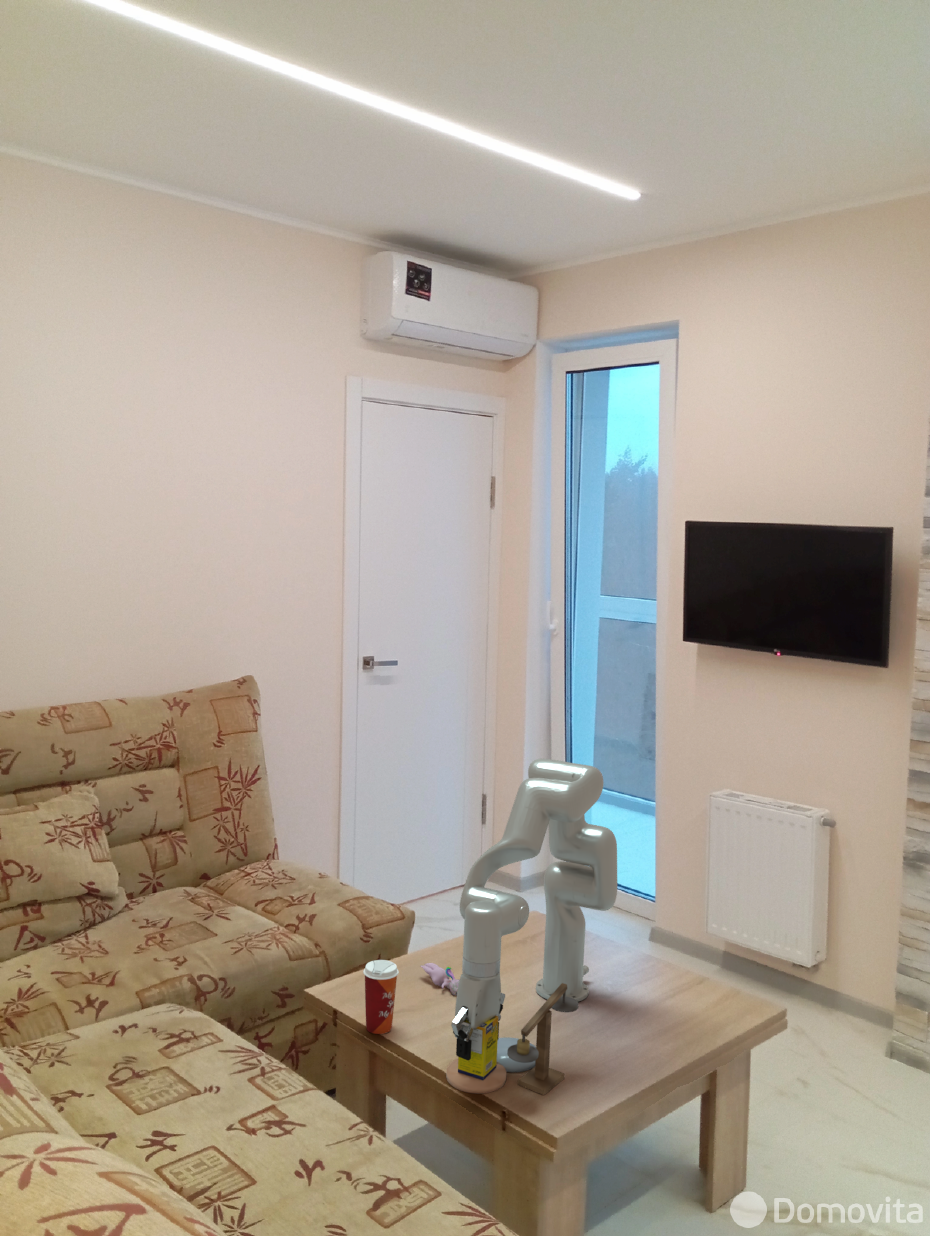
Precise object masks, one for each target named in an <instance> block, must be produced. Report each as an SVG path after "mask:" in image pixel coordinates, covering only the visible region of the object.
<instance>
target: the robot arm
mask: <svg viewBox="0 0 930 1236" xmlns="http://www.w3.org/2000/svg"><path fill="white" fill-rule="evenodd" d="M527 771H528V772H527V776H528V778H526V779H524V780H523V781H521V783H520V785H519V787H518V790H517V792H516V794H515V795H516V796H515V798H514V802H513V804H512V806H511V810H510V813H509V817H508V820H507V822H506V825H505V828H504V832H503V835H502V837H501V839H500V840H499V841H498V842H496V843H495V844H493V845H492V846H491V847H490V848H488V849H487V850H485V851H484V852H483V854H482V855H480V857H479V858H477V860H476V861H475V862H474V863H473V865H472V866H471V868H470V870H469V872H468V874H467V878H466V879H465V883H464V886H463V889H462V892H461V896H460V900H459V912H460V916H461V917H462V919H463V920H464V922H463V925H464V926H463V927H464V928H463V944H462V947H463V948H462V966H461V968H462V969H461V972H462V973H461V974H460V976H459V985H458V991H457V995H456V1001H455V1008H454V1009H455V1010H454V1011H455V1012H454V1018H453V1020H452V1021H451V1024H450V1025H451V1028H452V1033H453V1035H454V1037H455V1038H456V1047H455V1055H456V1057H457V1058H458V1057H460V1058H463V1059H465V1060H468V1061H469V1060H470V1059H471V1044H472V1040H469V1039H470V1037H471V1035H472V1032H473V1030H474V1029H475V1028H477V1027H479V1026H481V1025H482V1024H484V1023H485V1022H487V1021H488V1020H490V1019H491V1018H493V1017H494V1016H498V1038H500V1037H499V1035H500V1032H499V1031H500V1021H501V1019H502V1016H501V1014H502V1011H503V1009H504V1002H505V998H506V994H505V993H503V992H501V991H502V989H501V988H502V987H501V986H502V985H501V984H502V983H501V981H502V980H501V957H502V955H501V954H502V952H501V951H502V938H503V937H504V936H508V935H510V934H514V933H516V932H518V931H519V930H521V929H522V928H524V926H525V925H526V923H527V922H528V920H529V916H530V907H529V902H527V900H526V899H525V898H524V897H522V896H520V895H518V894H513V893H510V892H505V891H501V890H497V889H492V888H488V887H485V886H486V884H487V882H488V880H489V878H490V877H491V876H492V875H493V874H494V873H495V872H496V871H498V870H499V869H502V868H503V867H505V866H508V865H510V864H511V865H512V864H515V863H518V862H522V861H526V860H530V859H533V858H536V857H537V856H538V855H539V854H540V853H541V850H542V846H543V843H544V840H545V837H546V833H547V830H548V844H549V845H548V846H549V851H550V854H551V855H552V856H553V857H554V858H555V859H557V860H558V861H554V862H552V863H550V864H549V865H548V866H547V867H546V869H545V871H544V874H543V889H544V897H545V926H544V927H545V930H544V931H545V933H544V947H543V966H542V967H543V970H542V971H543V972H542V978H541V979H539V980H538V981H536V984H535V991H536V993H537V994H538V995H539V996H540V997H541V998H543V999H545V1000H548V999H549V997H550V996H551V995H552V994H553V993H554V992H555V990H556V989H557V988H558V987H559V986H560V985H561V984H562V983H564V984H567V990H566V997H570V998H573V999H575V1000H576V1001H577V1002H578V1003H579V1002H580V1001H584V1000H585V999H586V998H588V996H589V990H590V989H589V987H588V985H587V984H585V982H584V981H583V979H584V977H585V976H586V974H588V973H589V971H590V969H589V967H588V966H587V965H585V964H584V960H585V957H584V956H585V945H586V944H585V941H586V918H585V915H584V913H583V910H582V909H581V907H582V908H585V909H589V910H595V911H599V912H600V911H601V912H604V911H609V910H611V909H612V908H613V907H614V905H615V904H616V900H617V896H618V846H617V845H618V844H617V838H616V836H615V834H614V832H613V831H612V830H611V828H608V827H606V826H602V825H596V824H591V823H588V822H587V821H586V820H585V818H586V817H585V814H586V813H587V812H588V811H589V810H590V809H591V808H592V807H593V806H594V805H595V804H596V803H597V802H598V800H599V799H600V797H601V795H602V793H603V790H604V783H605V782H604V775H603V774H602V772H601V770H600V769H598V767H595V766H593V765H587V764H581V763H573V762H569V761H563V760H556V759H549V758H538V759H534V760H533V761H532V762H531V763H530V764H529V766H528V770H527ZM562 996H563V995H562ZM466 1019H467V1020H468V1021H469V1022H470V1023H471V1024H469V1023H466ZM464 1026H465V1027H468V1030H467V1033H465V1032H464V1031H463V1028H464Z"/></svg>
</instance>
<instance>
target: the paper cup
mask: <svg viewBox="0 0 930 1236" xmlns="http://www.w3.org/2000/svg"><path fill="white" fill-rule="evenodd" d="M362 973H363V975H364V992H365V993H364V994H365V995H364V998H365V999H364V1001H365V1002H364V1003H365V1026H366V1027H365V1028H366V1031H367V1032H369V1033H370V1034H375V1035H385V1034H387V1033H390V1031H391V1030H392V1027H393V1021H394V1020H393V1019H394V1009H395V999H396V989H397V981H398V979H397V978H398V975H399V969H398V965H397V964H396V963H395V962H393V961H391V960H386V959H377V960H376V959H375V960H371V961H369V962H367V963H366V964H365V968H364V969H363V972H362Z"/></svg>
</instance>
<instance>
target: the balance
mask: <svg viewBox="0 0 930 1236" xmlns="http://www.w3.org/2000/svg"><path fill="white" fill-rule="evenodd" d="M566 990H567V984H564V983H562V984H561V985H560V986H559V987H558V988H557V989H556V990H555V992H554V993H553V994H552V995H551V996H550V997H549V999H546V1001H545V1002H544V1003H543V1004H542V1006H541V1007H540V1008H539V1009H538V1010H537V1011H536V1012H535V1014H534V1015H533V1016H532V1017H531V1018H530V1020H529V1021H528V1022H527V1023H526V1024H525V1025H524V1026H523V1027H522V1028H521V1029H520V1033H521V1036H522V1038H518V1039H519V1040H518V1041H517V1044H515V1045H512V1046H510V1047H509V1048H508V1051H507V1055H508V1057H509V1058H510V1059H512V1060H514V1061H516V1062H521V1063H529V1062H533V1061H535V1067H533V1068H532V1069H530V1070H528V1072H526V1073H525V1074H524V1075H523V1076H521V1077H520V1078H518V1080H517V1085H518V1086H520V1087H522V1088H525V1089H528V1090H530V1091H532V1092H535V1093H538V1094H539V1095H543V1096H545V1095H546V1094H548V1093H549V1092H550V1091H551V1090H553V1088H555V1087H556V1086H557V1085H558V1084H560V1083H561V1082H562V1081H563V1080H565V1073H564V1072H561V1071H559V1070H556V1069H554V1068H551V1067H550V1054H551V1053H550V1051H551V1050H550V1049H551V1034H552V1033H551V1029H552V1010H554V1011H557V1012H559V1013H572V1012H575V1011H577V1010H578V1009H579V1002H577V1001H576V1000H575V999H573V998H570V997H566ZM562 995H563V996H562ZM551 1009H552V1010H551ZM535 1028H536V1042H535V1043H536V1044H535V1047H536V1048H535V1047H533V1046H531V1045H530V1043H531V1042H530V1040H529V1039H528V1038H526V1037H528V1036H529V1035H530V1034H531V1033H532V1031H533V1030H534V1029H535Z"/></svg>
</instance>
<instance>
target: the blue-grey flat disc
mask: <svg viewBox="0 0 930 1236" xmlns="http://www.w3.org/2000/svg"><path fill="white" fill-rule="evenodd" d="M519 1039H520V1038H518V1037H505V1036H504V1037H498V1043H497V1062H499V1063H500V1064H501V1065H503V1066H504V1068H505V1069H506V1073H522V1072H527V1071H530V1070H531V1069H533V1068H534V1067H535V1061H533V1062H529V1063H521V1062H516V1061H514V1060H512V1059H510V1058H509V1057H508V1055H507V1051H508V1048H509V1047H510V1046H512V1045H515V1044H517V1041H518V1040H519ZM530 1045H531V1046H533V1047H535V1048H536V1045H534V1044H533V1043H531V1042H530ZM497 1064H498V1063H497Z"/></svg>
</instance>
